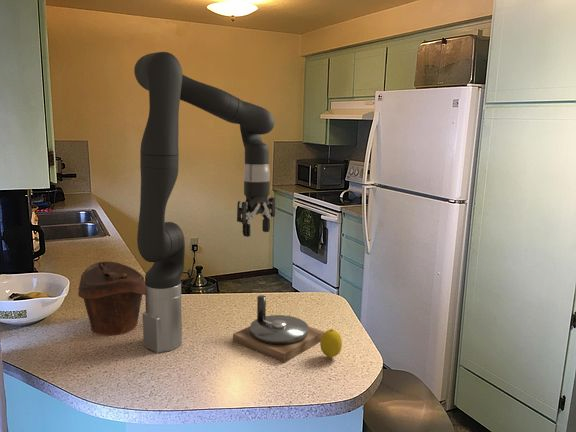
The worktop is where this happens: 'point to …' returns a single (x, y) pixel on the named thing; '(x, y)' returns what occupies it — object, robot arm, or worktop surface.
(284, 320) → the handwheel
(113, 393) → the worktop surface
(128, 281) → the chocolate muffin
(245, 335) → the wheel stand
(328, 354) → the lemon
